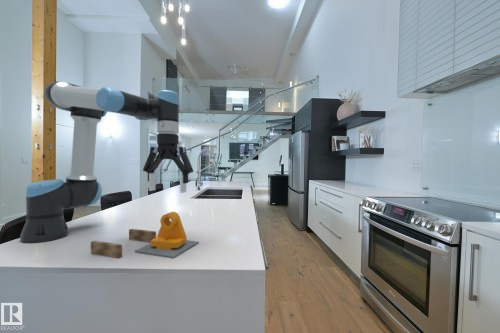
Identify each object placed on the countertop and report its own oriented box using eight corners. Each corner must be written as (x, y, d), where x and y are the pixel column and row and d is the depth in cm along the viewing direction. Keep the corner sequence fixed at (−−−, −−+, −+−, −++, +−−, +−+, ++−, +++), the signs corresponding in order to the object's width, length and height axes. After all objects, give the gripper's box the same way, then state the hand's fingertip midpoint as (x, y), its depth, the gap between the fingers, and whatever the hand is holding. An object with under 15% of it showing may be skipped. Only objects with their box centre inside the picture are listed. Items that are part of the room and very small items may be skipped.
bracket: (149, 248, 87) (149, 214, 86) (160, 241, 94) (160, 211, 94) (177, 250, 85) (177, 216, 85) (186, 243, 92) (186, 212, 92)
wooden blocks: (90, 253, 83) (90, 241, 83) (131, 238, 100) (131, 228, 100) (118, 258, 79) (118, 246, 79) (155, 241, 96) (155, 231, 96)
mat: (134, 252, 84) (134, 250, 84) (164, 238, 99) (164, 237, 99) (173, 258, 79) (173, 256, 79) (198, 243, 94) (198, 241, 94)
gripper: (133, 133, 89) (132, 190, 90) (192, 131, 82) (191, 194, 82) (147, 135, 97) (147, 188, 97) (203, 134, 89) (202, 192, 89)
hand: (167, 191), depth 89 cm, fingers open, 13 cm apart
